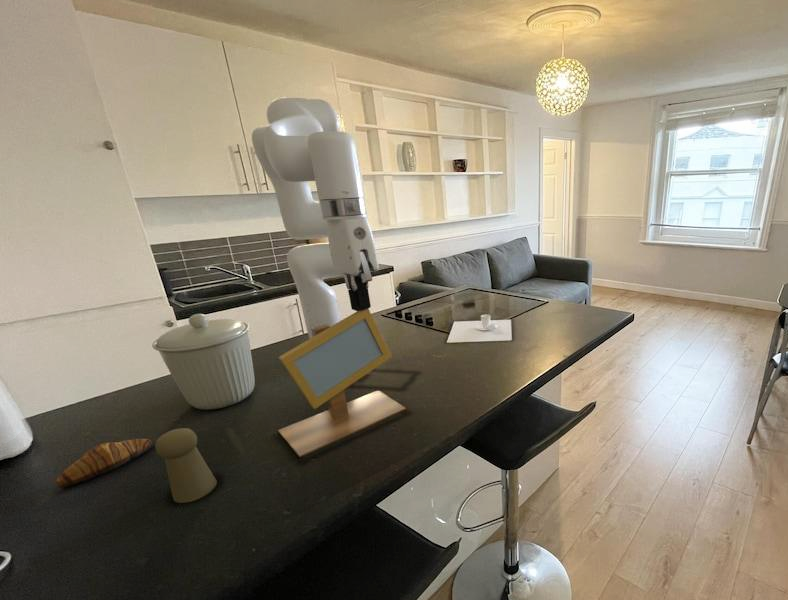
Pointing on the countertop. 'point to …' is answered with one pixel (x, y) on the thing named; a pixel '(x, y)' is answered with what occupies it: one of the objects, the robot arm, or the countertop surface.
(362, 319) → the picture frame
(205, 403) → the canister
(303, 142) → the robot arm
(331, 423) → the display stand
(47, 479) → the countertop surface
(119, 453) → the croissant
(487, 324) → the teacup and saucer
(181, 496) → the cork
